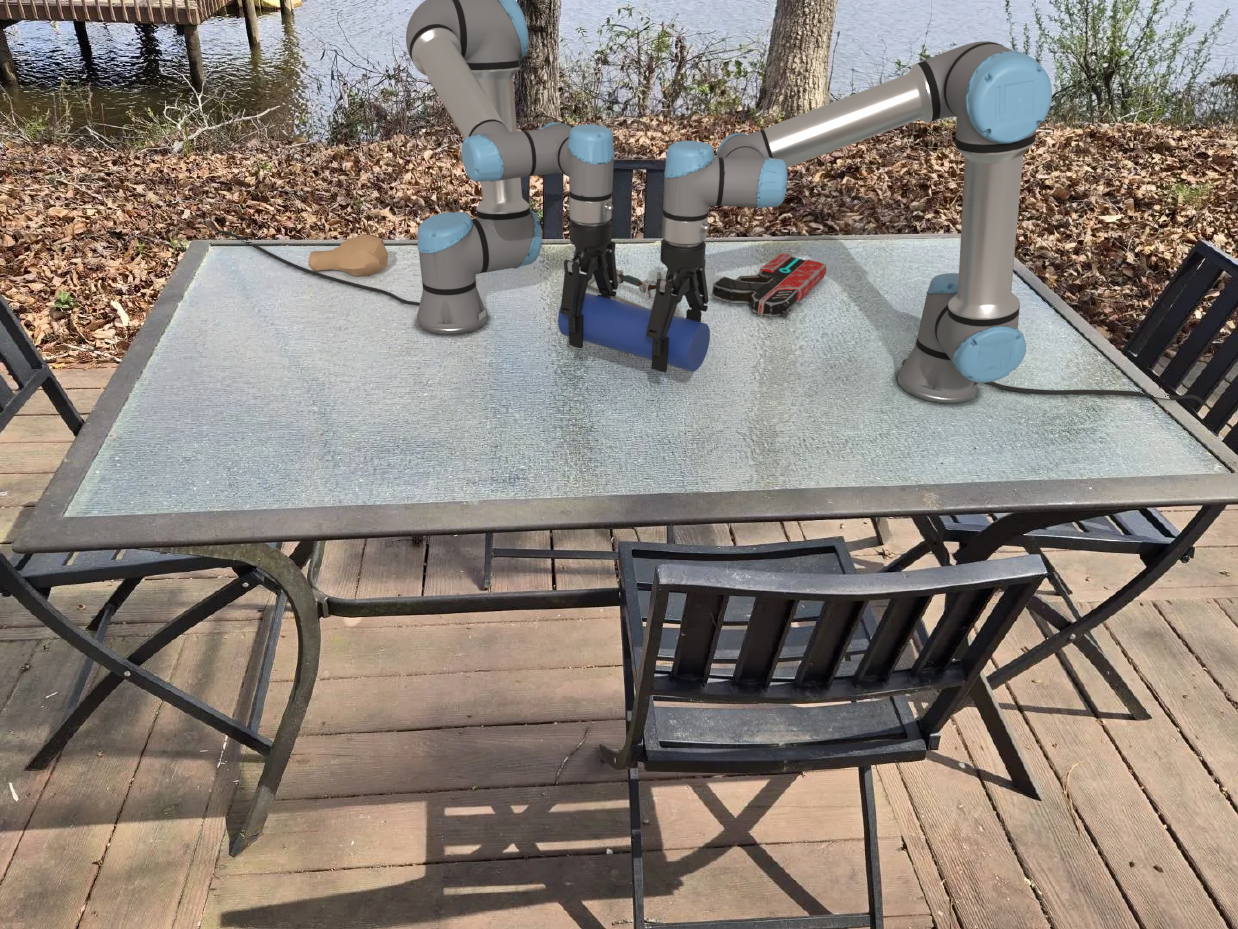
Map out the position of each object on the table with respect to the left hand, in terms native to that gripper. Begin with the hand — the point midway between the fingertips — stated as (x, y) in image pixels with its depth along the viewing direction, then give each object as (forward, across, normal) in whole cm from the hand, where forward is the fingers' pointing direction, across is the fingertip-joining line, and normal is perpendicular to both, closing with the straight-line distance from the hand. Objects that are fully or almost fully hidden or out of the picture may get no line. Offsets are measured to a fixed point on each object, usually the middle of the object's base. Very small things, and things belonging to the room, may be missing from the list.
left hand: (589, 336), depth 166 cm
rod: (+1, 0, -9) cm, 9 cm away
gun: (+11, +66, -11) cm, 68 cm away
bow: (+11, +40, +14) cm, 44 cm away
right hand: (-1, 0, -18) cm, 18 cm away
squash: (+11, +18, +83) cm, 85 cm away
